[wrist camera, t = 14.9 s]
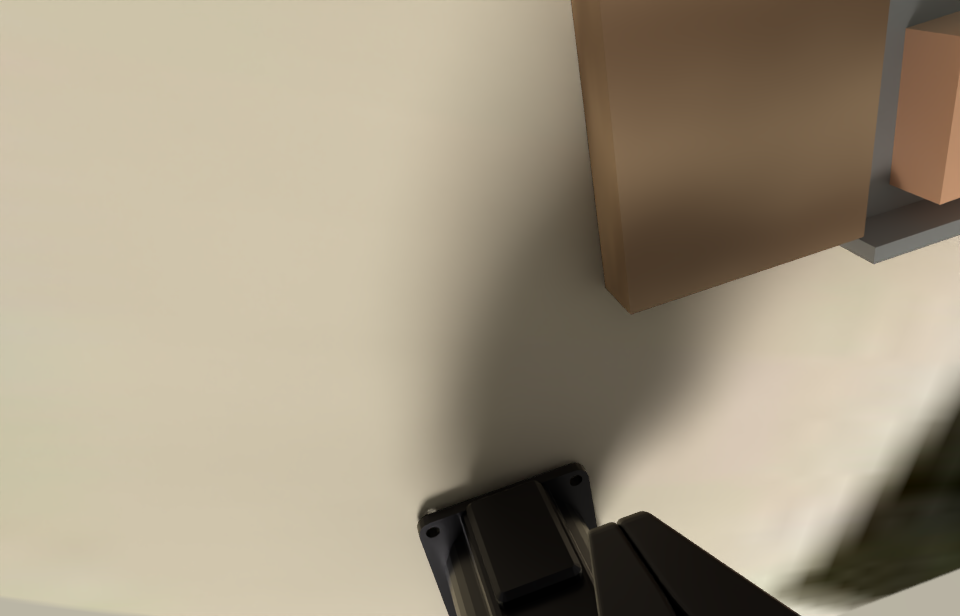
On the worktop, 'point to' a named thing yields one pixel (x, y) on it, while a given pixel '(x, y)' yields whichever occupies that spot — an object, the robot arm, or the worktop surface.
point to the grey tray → (892, 211)
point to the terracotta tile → (929, 112)
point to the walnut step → (726, 134)
